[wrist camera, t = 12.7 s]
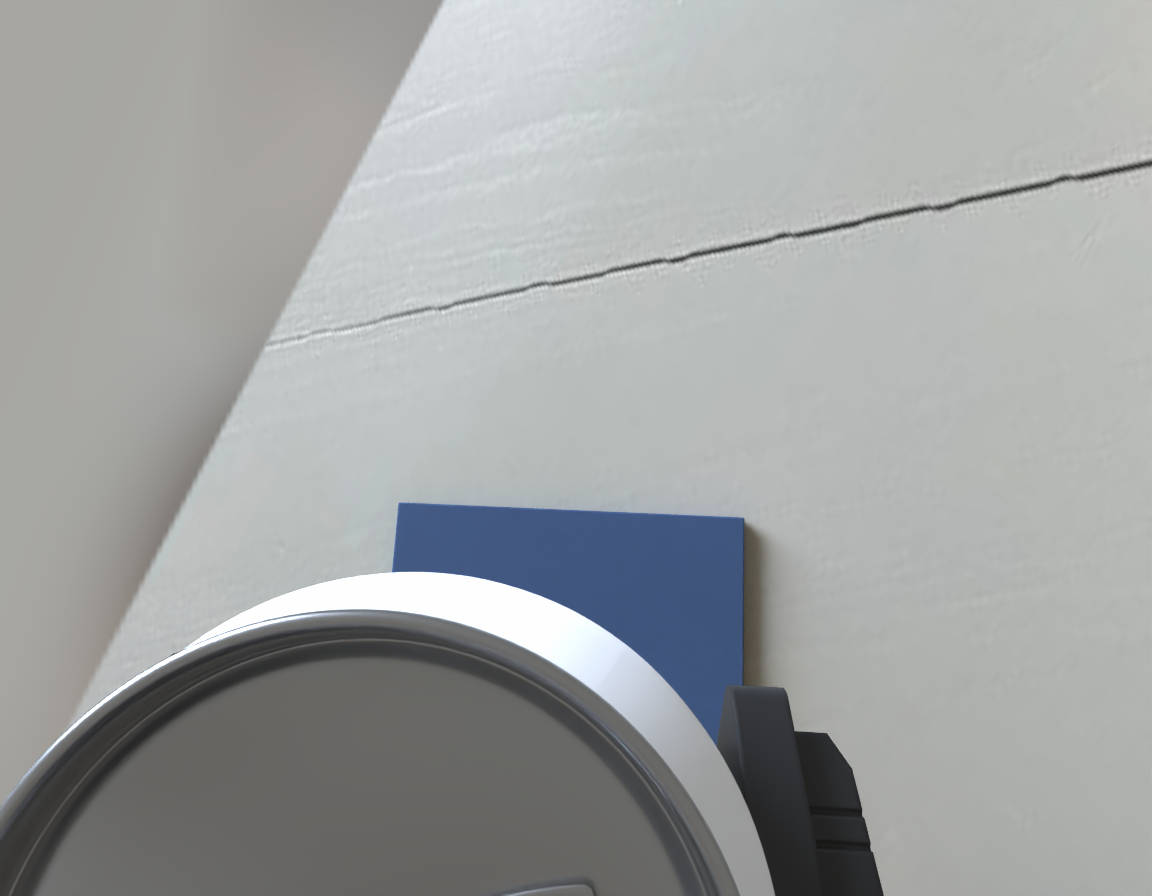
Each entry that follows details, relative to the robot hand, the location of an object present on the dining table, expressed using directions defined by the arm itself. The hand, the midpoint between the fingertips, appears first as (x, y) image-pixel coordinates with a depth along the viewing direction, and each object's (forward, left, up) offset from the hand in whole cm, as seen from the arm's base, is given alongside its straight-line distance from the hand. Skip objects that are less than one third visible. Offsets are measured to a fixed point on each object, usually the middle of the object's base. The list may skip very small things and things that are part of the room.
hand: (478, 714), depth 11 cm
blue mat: (0, +1, -18) cm, 18 cm away
